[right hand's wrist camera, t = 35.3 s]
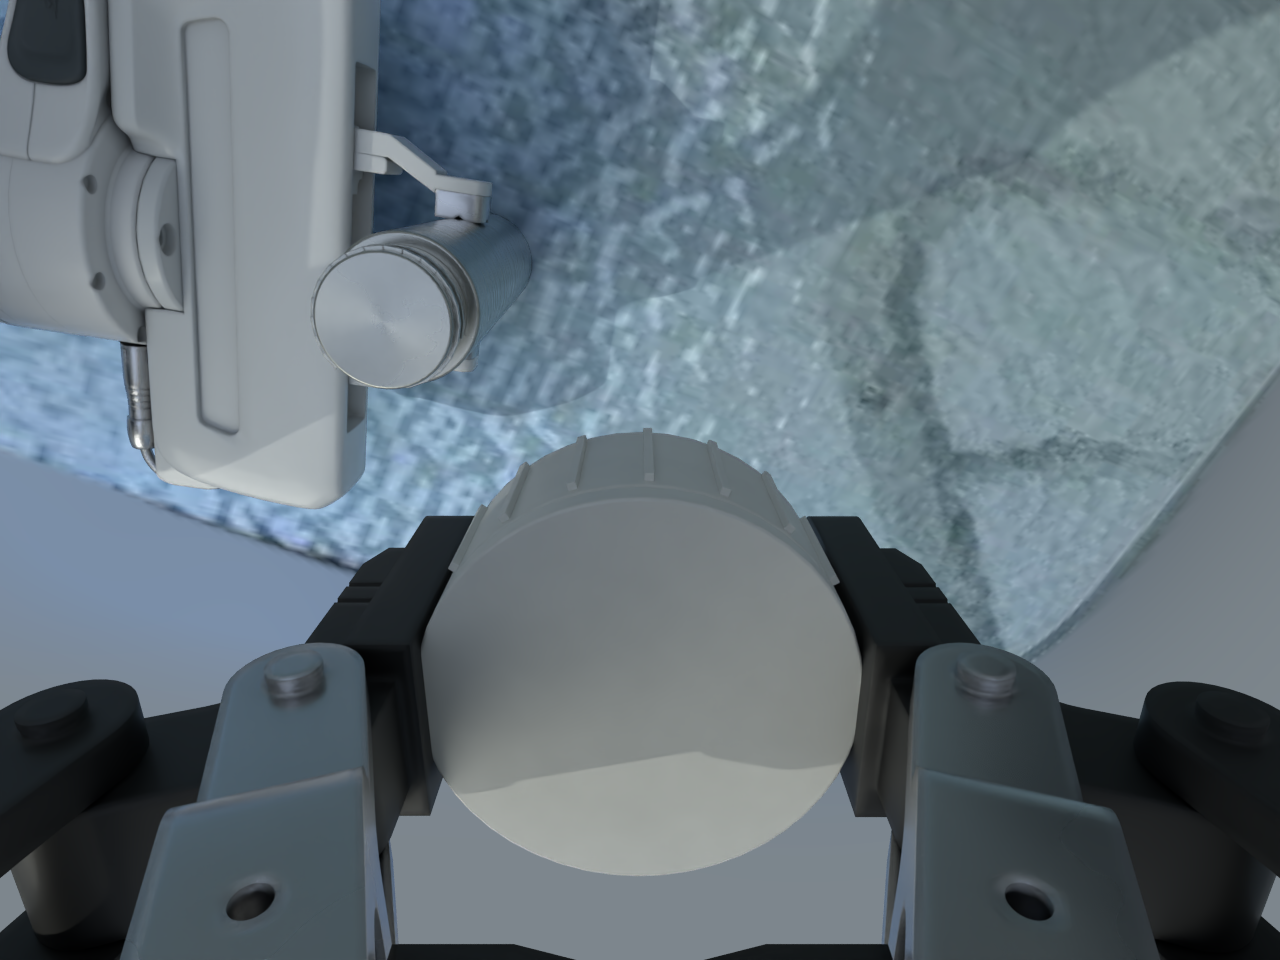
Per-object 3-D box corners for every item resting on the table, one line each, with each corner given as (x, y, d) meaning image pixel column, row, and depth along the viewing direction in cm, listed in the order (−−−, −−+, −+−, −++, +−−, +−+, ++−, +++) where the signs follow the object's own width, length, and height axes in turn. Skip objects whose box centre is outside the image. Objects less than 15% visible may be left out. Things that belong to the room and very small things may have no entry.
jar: (494, 192, 35) (393, 199, 19) (550, 273, 36) (500, 344, 20) (419, 248, 36) (261, 299, 20) (477, 325, 37) (373, 433, 21)
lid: (696, 802, 12) (710, 940, 10) (394, 657, 11) (333, 772, 9) (897, 544, 10) (967, 637, 8) (566, 352, 10) (544, 400, 7)
